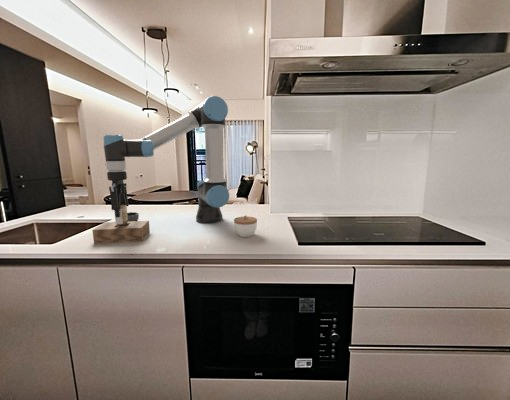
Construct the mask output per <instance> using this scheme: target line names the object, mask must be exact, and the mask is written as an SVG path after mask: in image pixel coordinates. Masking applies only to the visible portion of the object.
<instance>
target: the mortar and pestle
mask: <svg viewBox="0 0 510 400" xmlns="http://www.w3.org/2000/svg"><path fill="white" fill-rule="evenodd" d="M127 216H128V220H127V222H129V221H139V217H140V216H139V213H138V212H132V211H131V212H127Z"/></svg>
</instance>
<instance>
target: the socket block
mask: <svg viewBox="0 0 510 400" xmlns="http://www.w3.org/2000/svg"><path fill="white" fill-rule="evenodd" d="M150 231H151V230H150V221H149V220H138V221H129V222H127V226H125V227H118V225H117V224H116V221H108V222H106V221H105V222H103V223H102V224H99V225H98V226H96V227H95V228H93V229H92V231H91V232H92V238H93V244H105V243H125V242H126V243H127V242H143V241H144V240H145V239H146V238H147V237H148V236H149V234H150V233H151V232H150Z"/></svg>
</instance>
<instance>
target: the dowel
mask: <svg viewBox="0 0 510 400" xmlns="http://www.w3.org/2000/svg"><path fill="white" fill-rule="evenodd" d="M126 207H127V206H126V205H120V209H121V210H122V219H123V224H117V225H118V227H125V226H127V214H126Z"/></svg>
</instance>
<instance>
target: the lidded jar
mask: <svg viewBox="0 0 510 400" xmlns="http://www.w3.org/2000/svg"><path fill="white" fill-rule="evenodd" d="M233 223H234V225H233V226H234V230H235V232H236V233H237V235H238V236H240V238H250V237H252V236H253V235H254V234H255V232H257V231H256V230H257V225H258V224H257V223H258V218H257V217H254V216H248V215H244V216H239V217H235V218H234V219H233Z"/></svg>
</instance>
